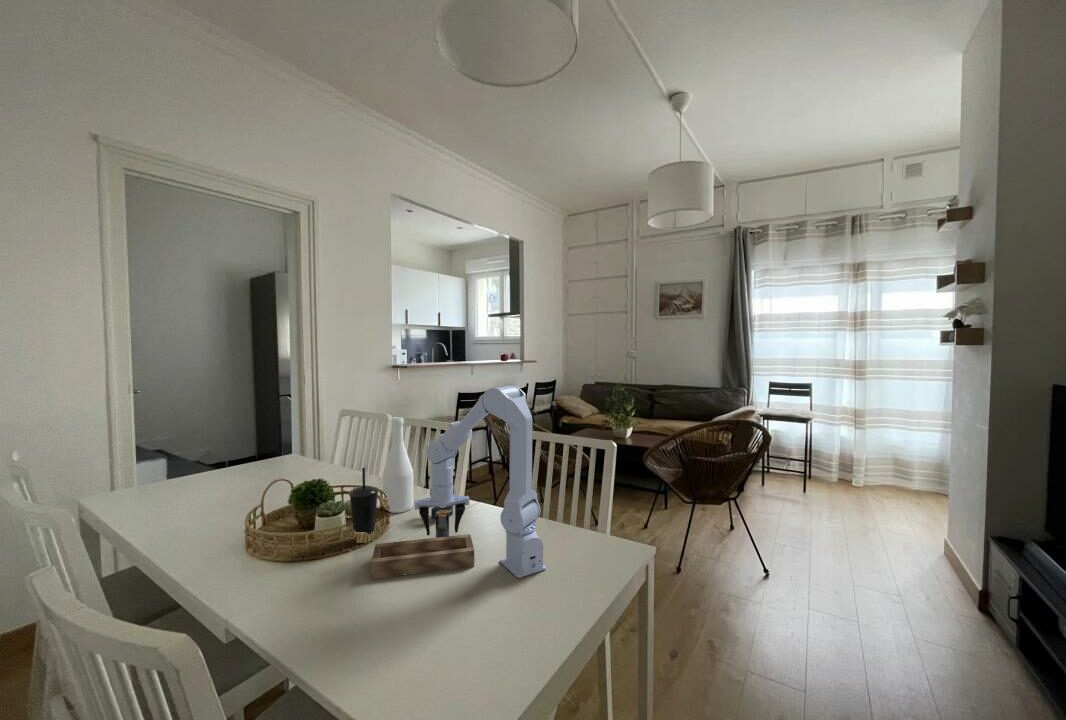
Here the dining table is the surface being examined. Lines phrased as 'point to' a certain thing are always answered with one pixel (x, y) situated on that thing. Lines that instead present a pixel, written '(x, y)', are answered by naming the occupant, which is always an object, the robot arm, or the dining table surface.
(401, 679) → the dining table surface
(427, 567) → the trough
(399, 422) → the wine bottle
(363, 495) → the drinking cup
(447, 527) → the battery cell
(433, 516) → the watch
